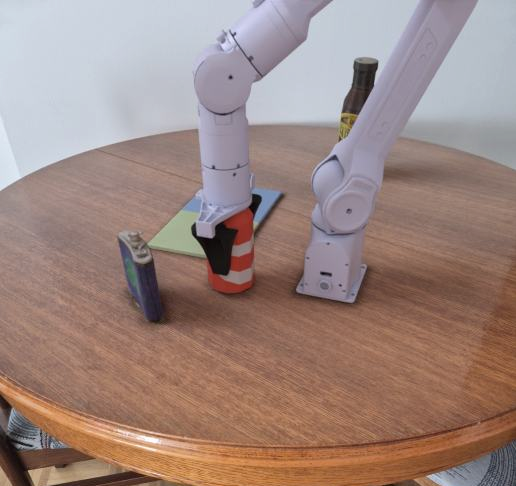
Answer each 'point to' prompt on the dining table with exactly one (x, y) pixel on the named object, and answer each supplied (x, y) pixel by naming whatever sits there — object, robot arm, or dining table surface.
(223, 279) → the beverage can
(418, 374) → the dining table surface
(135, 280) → the flask
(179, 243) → the sorting mat
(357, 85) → the sauce bottle
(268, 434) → the dining table surface
